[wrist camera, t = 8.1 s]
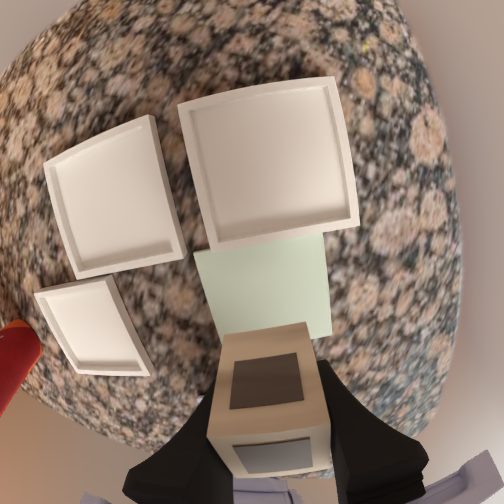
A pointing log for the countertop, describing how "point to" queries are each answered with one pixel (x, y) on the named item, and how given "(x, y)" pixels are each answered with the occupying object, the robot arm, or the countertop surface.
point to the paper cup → (16, 358)
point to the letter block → (270, 404)
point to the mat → (268, 286)
